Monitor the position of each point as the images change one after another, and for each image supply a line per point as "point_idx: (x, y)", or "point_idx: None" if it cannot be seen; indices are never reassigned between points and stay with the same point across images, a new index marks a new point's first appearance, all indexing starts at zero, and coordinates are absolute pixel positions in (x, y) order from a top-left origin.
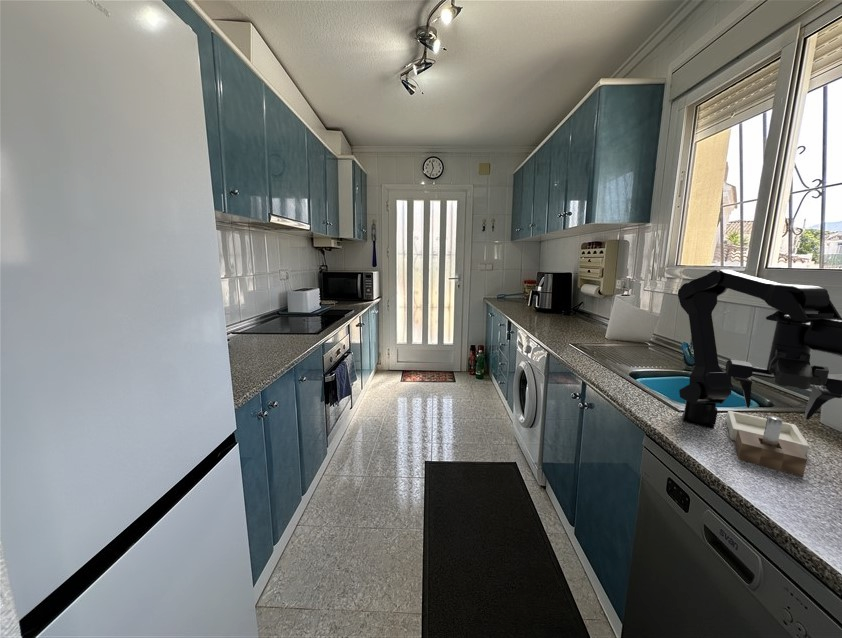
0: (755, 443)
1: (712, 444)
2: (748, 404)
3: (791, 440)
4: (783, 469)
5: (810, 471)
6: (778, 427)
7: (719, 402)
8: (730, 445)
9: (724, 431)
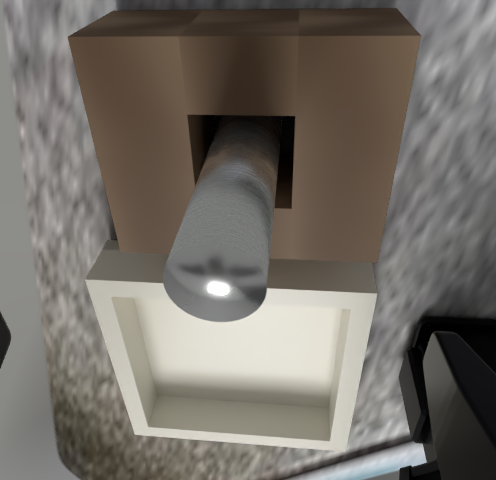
0: (326, 98)
1: (483, 142)
2: (461, 359)
3: (150, 344)
4: (191, 11)
5: None
6: (197, 208)
7: (418, 471)
8: None
9: (372, 319)
